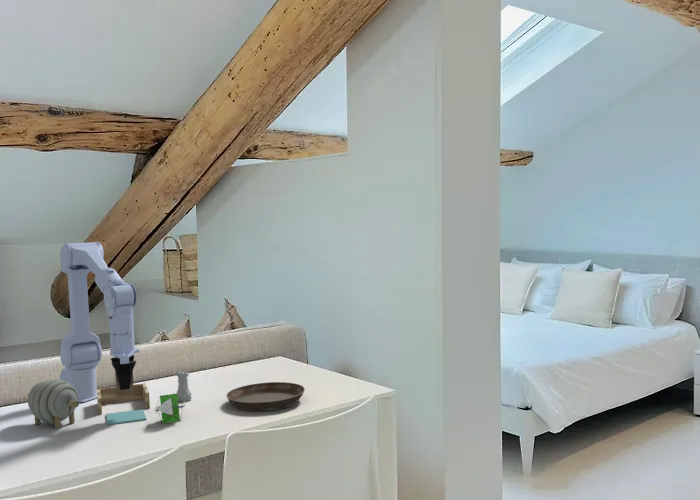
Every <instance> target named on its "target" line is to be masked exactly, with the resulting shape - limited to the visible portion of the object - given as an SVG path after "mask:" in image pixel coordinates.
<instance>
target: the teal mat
mask: <svg viewBox="0 0 700 500" xmlns="http://www.w3.org/2000/svg"><path fill="white" fill-rule="evenodd" d="M105 414H106V415H105V416H106V423H107V426H110V425H118V424H126V423H132V422H141V421H147V417H146V414H145V411H144V408H142V409H133V410H126V411H125V410H124V411H117V412H109V413H105Z"/></svg>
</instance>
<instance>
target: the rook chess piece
mask: <svg viewBox="0 0 700 500" xmlns="http://www.w3.org/2000/svg"><path fill="white" fill-rule="evenodd" d="M189 375H190V374H189V373H188V370H185V369H183V370H181V369H180V370H178V371H177V374H176V376H177V378H178V379H177V382H178V384H177V385H178V386H177V391H176V393H175V394H178V395H179V396H178V395H177V397H179V398H178V403H180V402H181V403H185V402H184V401H187V402H190V401H192V399H193V397H192V391H191V390H190V388H189V383H188V381H189V378H188V377H189ZM180 398H181V399H180ZM179 399H180V400H179ZM189 400H190V401H189Z"/></svg>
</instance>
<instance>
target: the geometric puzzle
mask: <svg viewBox="0 0 700 500" xmlns="http://www.w3.org/2000/svg"><path fill="white" fill-rule="evenodd" d="M177 395H178V394H176V393H171V394H163V395H159V397H158V401H157V404H156V407H155V410H154V413H156V416H157V417H158V419H159V420H160V422H161V423H162V424H163V425H164V424H169V423H174V422H175V423H177V422H181V420H182V415H183V411H185V410H184V408H185V406H186V404H182V402H178V398H179V397H177ZM178 396H179V395H178ZM180 399H181V398H180ZM180 399H179V400H180ZM159 401H160V402H159ZM159 403H160V405H159ZM179 403H180V404H182V405H179ZM158 405H159V406H158ZM156 408H157V409H156ZM180 410H182V411H181V412H180ZM157 412H160V413H161V414H157ZM158 415H159V416H158Z"/></svg>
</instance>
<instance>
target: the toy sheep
mask: <svg viewBox="0 0 700 500" xmlns="http://www.w3.org/2000/svg"><path fill="white" fill-rule="evenodd" d="M26 395H27V396H28V397H27V405H28V408H29V410H30V411H31V413H32V415H33V416H34V423H35V425H37V426H38V425H40V424H41V423H47V424H54V428H55V429H60V428H61V422H63V421H65V420H66V419H67V418H68V423H70V424H74V423H75V422H76V421H75V420H76V419H75V410H76V409H77V408H78V407H79V406H80V402H78V393H77V390H76V389H75V388H74V387H73V386H72V385H71V384H69V383H68V382H66V381H63V380H61V379H60V378H52V379H51V378H49V379H46V380H42V381H39V382H37V383H35V384H34V385H33V386H32V388H31V389H30V391H29V393H28V394H26Z"/></svg>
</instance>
